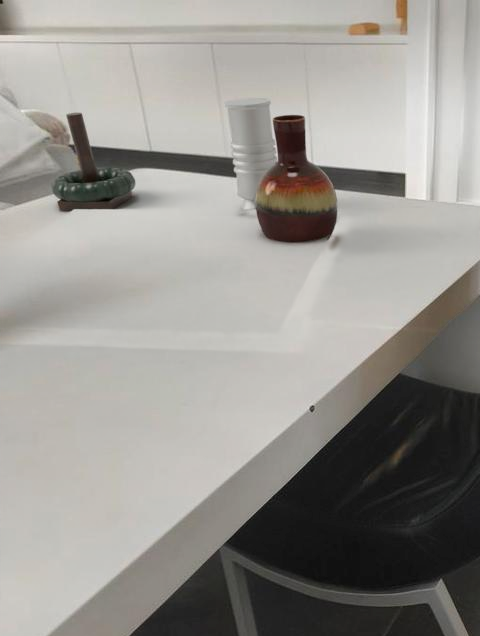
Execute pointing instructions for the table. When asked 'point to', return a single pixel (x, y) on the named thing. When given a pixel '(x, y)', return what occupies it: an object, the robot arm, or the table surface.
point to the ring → (93, 185)
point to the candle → (251, 144)
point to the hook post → (86, 167)
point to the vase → (295, 190)
